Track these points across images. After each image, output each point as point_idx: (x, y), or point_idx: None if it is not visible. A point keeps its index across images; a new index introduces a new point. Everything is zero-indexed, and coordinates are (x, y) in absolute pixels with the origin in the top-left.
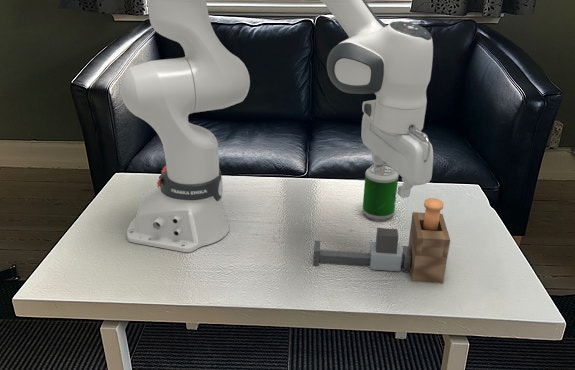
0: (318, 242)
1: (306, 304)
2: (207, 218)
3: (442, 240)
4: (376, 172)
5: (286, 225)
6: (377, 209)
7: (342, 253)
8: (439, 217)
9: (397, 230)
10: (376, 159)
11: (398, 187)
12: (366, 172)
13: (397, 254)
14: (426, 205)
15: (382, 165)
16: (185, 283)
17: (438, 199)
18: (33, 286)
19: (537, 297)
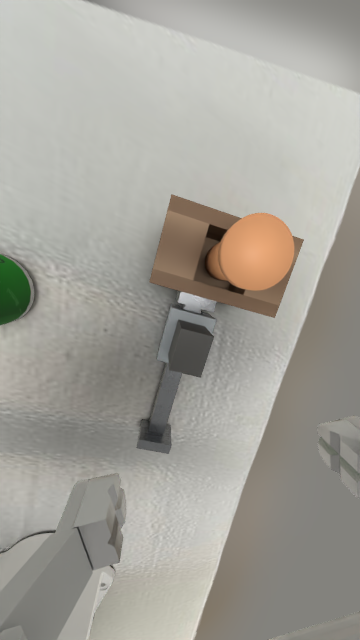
0: (143, 443)
1: (248, 450)
2: (74, 612)
3: (295, 259)
4: (119, 522)
5: (45, 455)
6: (18, 305)
7: (163, 400)
8: (190, 214)
9: (187, 330)
10: (51, 622)
11: (355, 492)
12: None
13: (207, 324)
14: (263, 288)
15: (89, 534)
16: (180, 566)
17: (238, 221)
18: None
19: (323, 99)
